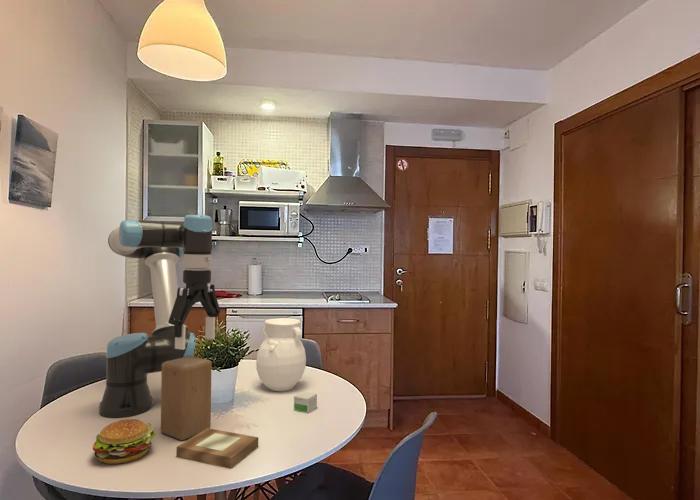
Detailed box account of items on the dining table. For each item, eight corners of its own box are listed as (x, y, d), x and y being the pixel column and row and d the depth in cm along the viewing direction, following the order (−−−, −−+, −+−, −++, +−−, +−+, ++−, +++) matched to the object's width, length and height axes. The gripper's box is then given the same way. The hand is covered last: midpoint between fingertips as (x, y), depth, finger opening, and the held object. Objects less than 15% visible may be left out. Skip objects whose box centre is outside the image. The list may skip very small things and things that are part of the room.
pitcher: (315, 385, 166) (316, 319, 166) (283, 398, 151) (284, 326, 151) (278, 376, 176) (279, 315, 176) (245, 388, 161) (246, 321, 161)
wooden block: (182, 442, 116) (183, 367, 116) (159, 433, 121) (160, 361, 121) (212, 429, 125) (213, 359, 125) (189, 421, 130) (190, 354, 130)
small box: (293, 410, 140) (293, 395, 140) (302, 405, 145) (302, 390, 145) (308, 414, 138) (308, 398, 138) (317, 408, 143) (317, 393, 143)
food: (149, 464, 104) (149, 431, 104) (84, 469, 101) (85, 435, 101) (161, 439, 118) (162, 410, 118) (104, 443, 115) (105, 413, 115)
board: (176, 456, 108) (176, 446, 108) (207, 437, 120) (207, 427, 119) (231, 468, 103) (231, 457, 103) (258, 446, 114) (258, 436, 114)
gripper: (179, 272, 111) (177, 355, 111) (232, 267, 135) (231, 336, 135) (154, 271, 113) (153, 352, 114) (211, 266, 137) (210, 334, 137)
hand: (195, 343), depth 124 cm, fingers open, 13 cm apart
